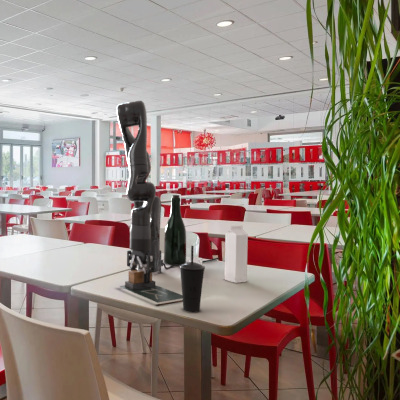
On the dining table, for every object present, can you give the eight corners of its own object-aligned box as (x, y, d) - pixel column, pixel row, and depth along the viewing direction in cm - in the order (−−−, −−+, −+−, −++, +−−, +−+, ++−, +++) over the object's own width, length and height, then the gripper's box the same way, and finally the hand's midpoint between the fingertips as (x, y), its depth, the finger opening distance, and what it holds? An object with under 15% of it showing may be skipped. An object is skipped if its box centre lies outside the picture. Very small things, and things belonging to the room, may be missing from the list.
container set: (190, 268, 190) (190, 256, 189) (202, 269, 188) (202, 257, 187) (181, 278, 172) (181, 264, 171) (194, 279, 169) (194, 266, 169)
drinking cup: (175, 306, 133) (176, 244, 132) (198, 306, 134) (199, 243, 133) (183, 314, 126) (184, 247, 125) (208, 313, 126) (209, 247, 125)
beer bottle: (159, 263, 202) (160, 194, 201) (172, 260, 209) (173, 194, 208) (177, 266, 195) (178, 195, 193) (190, 263, 202) (191, 194, 200)
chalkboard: (147, 284, 161) (147, 281, 161) (190, 300, 140) (190, 297, 140) (116, 288, 155) (116, 285, 155) (157, 306, 134) (157, 303, 134)
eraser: (147, 283, 158) (147, 268, 158) (155, 286, 154) (155, 270, 154) (125, 286, 154) (125, 270, 153) (132, 290, 149) (132, 273, 149)
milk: (246, 281, 166) (248, 226, 165) (235, 283, 164) (236, 227, 163) (235, 278, 172) (237, 224, 171) (223, 279, 169) (225, 225, 168)
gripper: (160, 238, 148) (160, 284, 149) (137, 234, 161) (137, 276, 162) (143, 240, 145) (143, 286, 146) (121, 235, 158) (120, 278, 158)
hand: (139, 281), depth 154 cm, fingers open, 7 cm apart
